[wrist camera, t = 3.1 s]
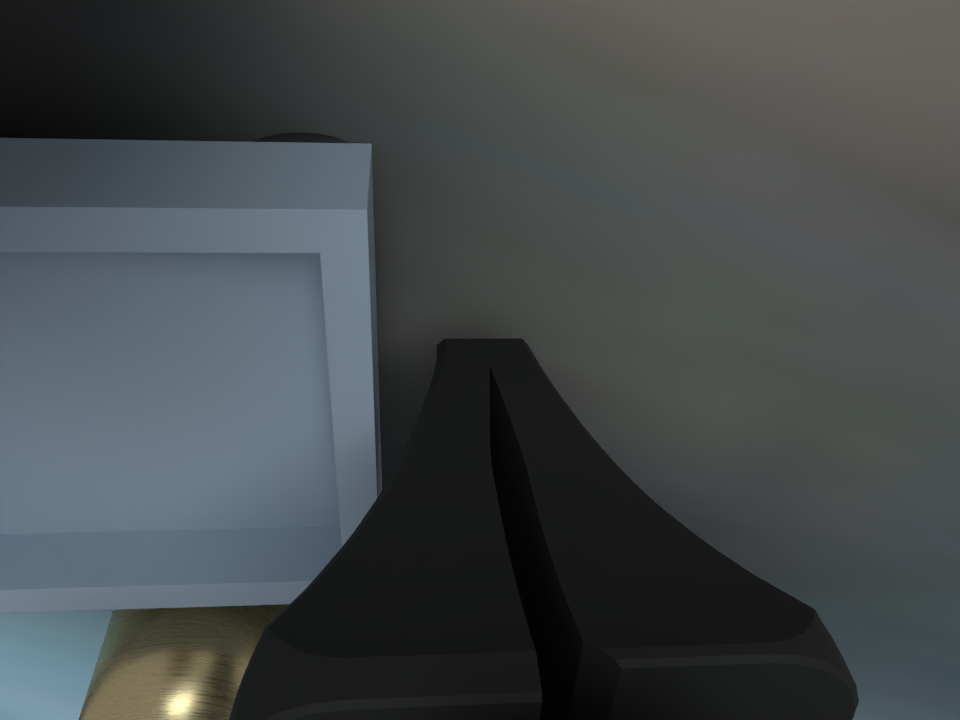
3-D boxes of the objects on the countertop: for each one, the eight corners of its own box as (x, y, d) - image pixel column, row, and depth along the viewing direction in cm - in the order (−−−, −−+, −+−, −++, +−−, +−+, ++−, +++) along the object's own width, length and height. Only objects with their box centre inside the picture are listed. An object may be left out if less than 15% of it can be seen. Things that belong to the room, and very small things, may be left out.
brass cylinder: (311, 606, 21) (289, 845, 16) (150, 611, 20) (83, 856, 16) (300, 497, 18) (269, 741, 14) (118, 501, 18) (30, 751, 14)
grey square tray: (383, 454, 18) (380, 601, 15) (7, 460, 17) (-75, 615, 14) (374, 99, 13) (367, 209, 10) (-138, 89, 13) (-302, 204, 10)
